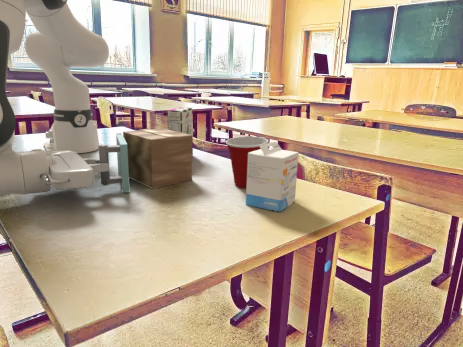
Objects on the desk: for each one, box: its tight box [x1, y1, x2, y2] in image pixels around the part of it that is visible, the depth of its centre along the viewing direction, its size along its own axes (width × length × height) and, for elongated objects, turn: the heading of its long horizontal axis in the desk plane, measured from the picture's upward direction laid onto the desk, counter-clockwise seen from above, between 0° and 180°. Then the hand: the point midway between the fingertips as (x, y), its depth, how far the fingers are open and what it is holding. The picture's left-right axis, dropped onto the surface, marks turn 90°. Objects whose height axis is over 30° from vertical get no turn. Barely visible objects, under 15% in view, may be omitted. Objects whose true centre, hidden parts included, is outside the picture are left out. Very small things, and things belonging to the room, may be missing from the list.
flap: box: [98, 132, 130, 193], centre depth 88 cm, size 16×6×11 cm, turn 21°
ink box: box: [245, 141, 300, 213], centre depth 78 cm, size 9×8×13 cm
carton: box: [122, 128, 193, 189], centre depth 95 cm, size 14×12×12 cm
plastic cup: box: [225, 135, 270, 189], centre depth 91 cm, size 11×11×12 cm
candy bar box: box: [166, 106, 194, 156], centre depth 117 cm, size 11×5×16 cm, turn 168°
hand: (106, 164), depth 83 cm, fingers open, 2 cm apart
